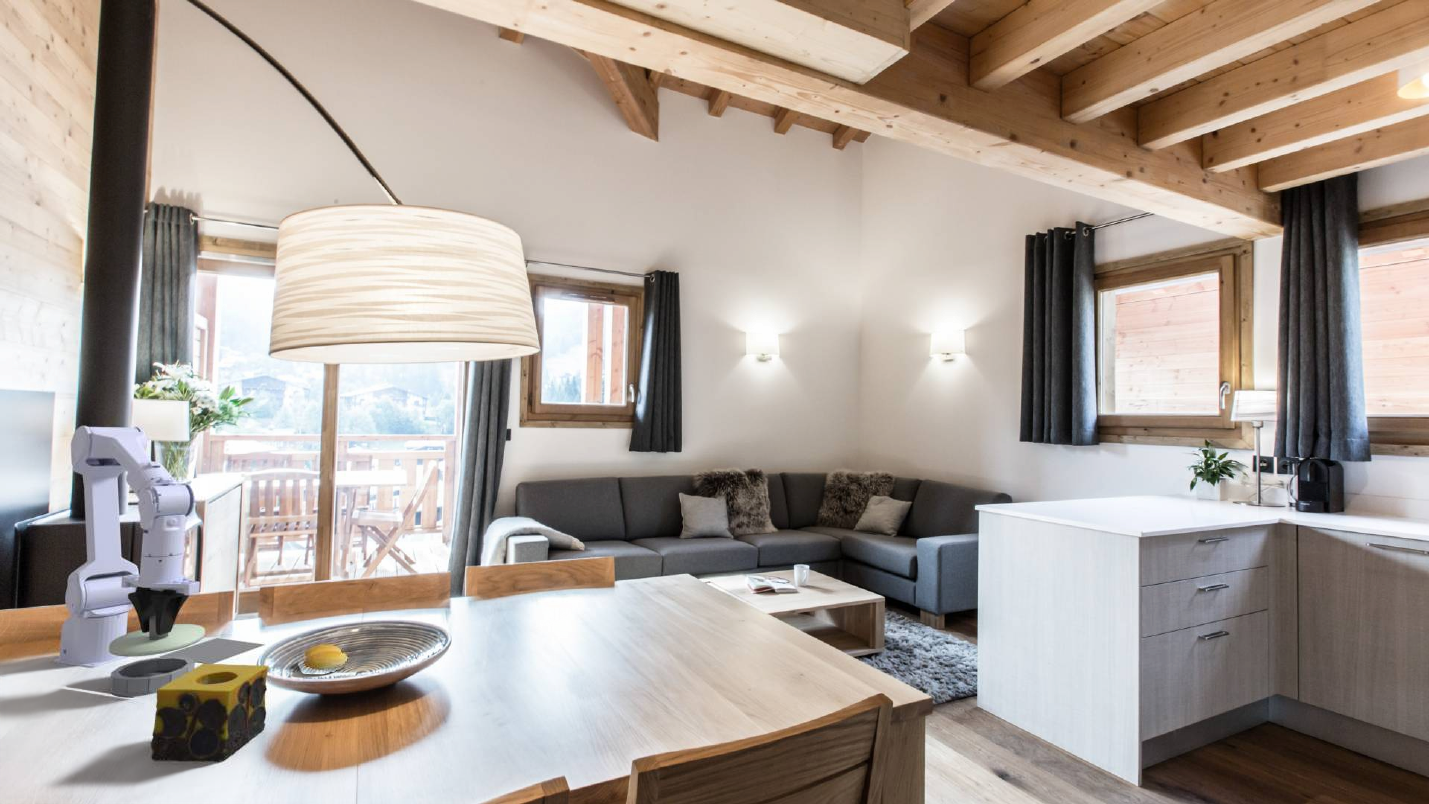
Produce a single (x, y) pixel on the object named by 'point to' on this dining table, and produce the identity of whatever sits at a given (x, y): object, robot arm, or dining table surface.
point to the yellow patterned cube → (209, 712)
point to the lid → (156, 640)
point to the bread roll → (324, 657)
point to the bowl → (148, 675)
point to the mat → (214, 650)
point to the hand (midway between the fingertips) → (156, 632)
